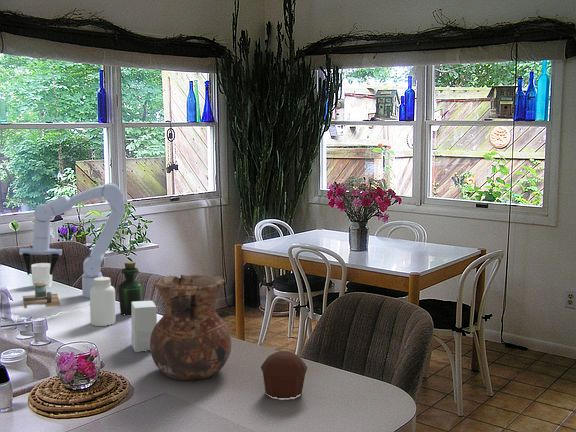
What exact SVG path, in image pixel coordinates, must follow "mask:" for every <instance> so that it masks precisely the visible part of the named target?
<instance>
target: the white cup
mask: <svg viewBox="0 0 576 432" xmlns="http://www.w3.org/2000/svg"><path fill="white" fill-rule="evenodd" d="M50 264H51V262H49V263H48V262H39V263H33V264H31V266H30V267H31V268H30V270H31V280H32V287H33V288H34V289H35V286H34V283H37V282H46V283H47V285H46V289H47V288H51V287H52V283H53V274H52V275H50Z"/></svg>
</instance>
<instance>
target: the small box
mask: <svg viewBox="0 0 576 432" xmlns="http://www.w3.org/2000/svg"><path fill="white" fill-rule="evenodd" d="M157 308H158V307H157V306H156V303H154V300H141V301H135V302H131V316H130V317H131V320H130V321H131V323H130V324H131V338H130V339H131V343H130V344H131V347H132V348H133V351H134V353H140V352H139V351H145V352H148V351H147V350H150V338H151V334H152V331H153V329H154V327H155V325H156V324H157V323H158V322H157V321H158V320H157V319H158V318H157V314H158V313H157V312H158V311H157V310H158V309H157Z"/></svg>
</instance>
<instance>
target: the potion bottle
mask: <svg viewBox="0 0 576 432" xmlns="http://www.w3.org/2000/svg"><path fill="white" fill-rule="evenodd" d="M123 264H124V268H122V269H121V272H120V273H121V274H123V275H124V278H125V279H124V281H122V282H120V283H119V285H118V286H117V290H118V301H119V309H120V310H119V311H120V314H121V315H122V314H125V315H131V302H135V301H142V295H143V294H142V290H143V285H142V283H141V282H139V281H137V280H135V277H136V274H138V273H139V272H140V271H139V269H138V267H136V261H133V260H132V261H124V263H123Z"/></svg>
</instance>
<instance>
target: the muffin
mask: <svg viewBox="0 0 576 432" xmlns="http://www.w3.org/2000/svg"><path fill="white" fill-rule="evenodd" d="M260 369H261V371H262V376H263V384H264V390H265V391H264V392H265V394H266V393H267V394H268V395H270V396H272V397H277V398H290V397H296V396H297V395H299V394H301V393H302V394H303V388H304V384H305V383H304V382H305V376H306V373H307V370H308V366H307V364H306V363H305V362H304V360H303V359H302V358H301V357H300V356H299V355H297V353H294V352H292V351H288V350H287V351H286V350H284V351H283V350H282V351H281V350H280V351H275V352H274V353H271V354H270V355H268V356H267V358H266V359H265V360H264V361H263V363H262V364H261V366H260Z"/></svg>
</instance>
